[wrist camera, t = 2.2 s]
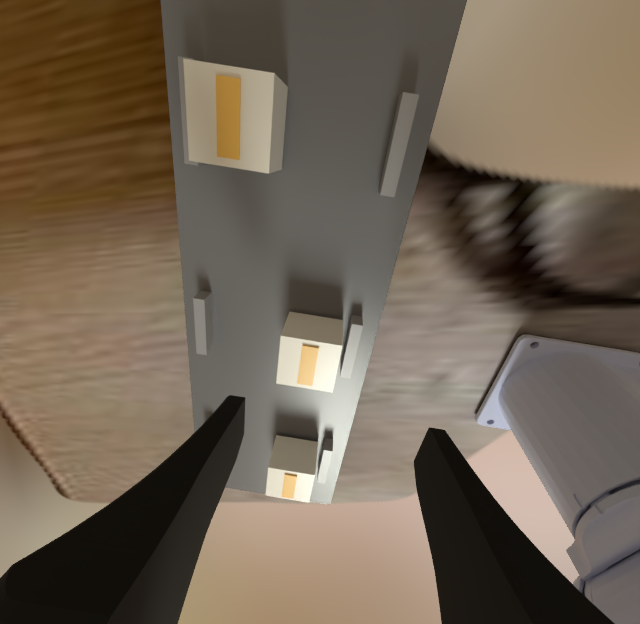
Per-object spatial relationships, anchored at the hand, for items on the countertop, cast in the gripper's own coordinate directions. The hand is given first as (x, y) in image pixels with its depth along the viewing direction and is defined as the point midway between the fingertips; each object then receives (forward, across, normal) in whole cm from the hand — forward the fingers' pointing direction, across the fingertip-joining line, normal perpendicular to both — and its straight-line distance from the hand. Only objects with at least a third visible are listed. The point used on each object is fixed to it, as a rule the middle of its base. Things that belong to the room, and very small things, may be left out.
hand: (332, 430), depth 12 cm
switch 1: (+6, +5, -10) cm, 13 cm away
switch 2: (+6, +1, +10) cm, 12 cm away
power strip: (+9, +3, 0) cm, 10 cm away
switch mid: (+6, +1, 0) cm, 6 cm away
